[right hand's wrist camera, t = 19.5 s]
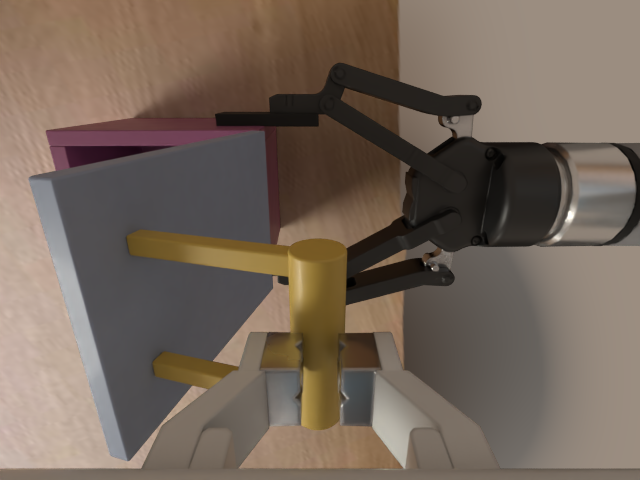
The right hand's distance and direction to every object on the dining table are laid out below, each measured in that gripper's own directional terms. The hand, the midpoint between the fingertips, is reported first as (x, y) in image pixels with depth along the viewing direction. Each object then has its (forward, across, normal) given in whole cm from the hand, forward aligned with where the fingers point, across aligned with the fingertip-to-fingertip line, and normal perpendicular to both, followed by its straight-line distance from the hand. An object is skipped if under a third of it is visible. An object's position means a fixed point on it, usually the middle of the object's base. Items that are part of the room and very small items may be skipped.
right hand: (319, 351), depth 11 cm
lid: (+7, -6, 0) cm, 9 cm away
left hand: (+17, -7, 0) cm, 18 cm away
